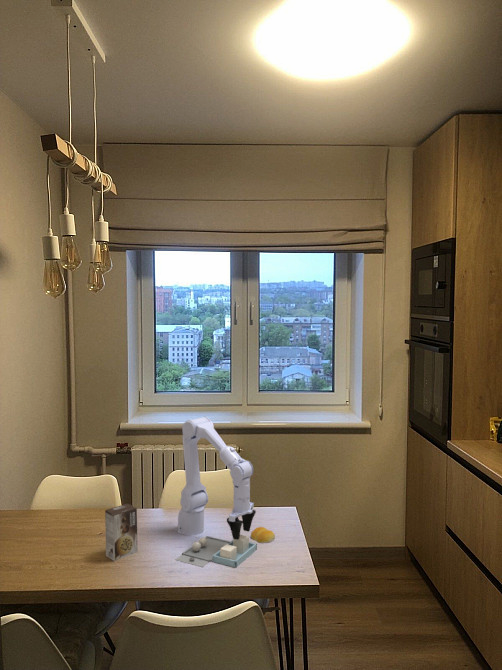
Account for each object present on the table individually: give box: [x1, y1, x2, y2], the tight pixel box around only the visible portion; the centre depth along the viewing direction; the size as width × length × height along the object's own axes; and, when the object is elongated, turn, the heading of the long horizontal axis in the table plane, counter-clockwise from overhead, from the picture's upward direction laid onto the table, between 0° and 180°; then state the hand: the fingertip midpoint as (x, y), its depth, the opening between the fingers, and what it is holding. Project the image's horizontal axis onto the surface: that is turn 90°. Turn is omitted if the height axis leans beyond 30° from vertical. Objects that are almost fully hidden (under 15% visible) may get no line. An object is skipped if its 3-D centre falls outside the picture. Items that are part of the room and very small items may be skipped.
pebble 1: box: [191, 541, 201, 552], centre depth 181 cm, size 3×3×3 cm
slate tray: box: [174, 535, 232, 568], centre depth 181 cm, size 12×20×1 cm, turn 152°
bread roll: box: [250, 526, 276, 544], centre depth 192 cm, size 8×9×4 cm
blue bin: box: [212, 539, 258, 569], centre depth 178 cm, size 9×15×2 cm, turn 152°
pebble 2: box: [197, 536, 207, 547], centre depth 184 cm, size 3×3×3 cm
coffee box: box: [104, 503, 139, 562], centre depth 179 cm, size 9×6×16 cm
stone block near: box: [220, 544, 237, 560], centre depth 173 cm, size 4×4×4 cm
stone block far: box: [232, 534, 250, 554], centre depth 182 cm, size 4×4×4 cm
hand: (241, 534), depth 182 cm, fingers open, 7 cm apart
